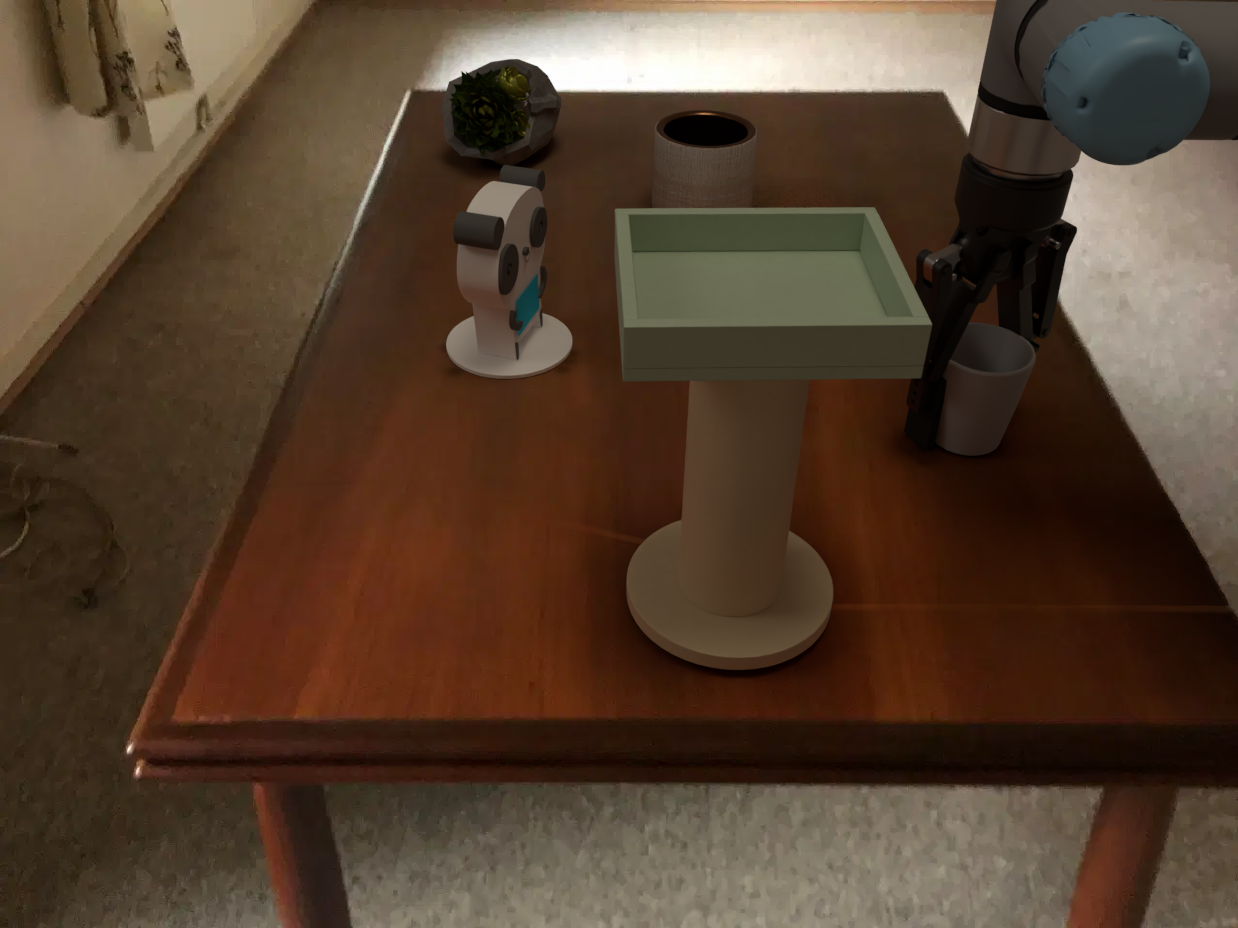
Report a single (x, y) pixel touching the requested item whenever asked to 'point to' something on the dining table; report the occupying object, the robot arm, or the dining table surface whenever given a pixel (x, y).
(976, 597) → the dining table surface
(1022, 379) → the cup
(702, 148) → the planter
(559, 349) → the panda figurine
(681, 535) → the tray
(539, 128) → the potted plant
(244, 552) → the dining table surface
